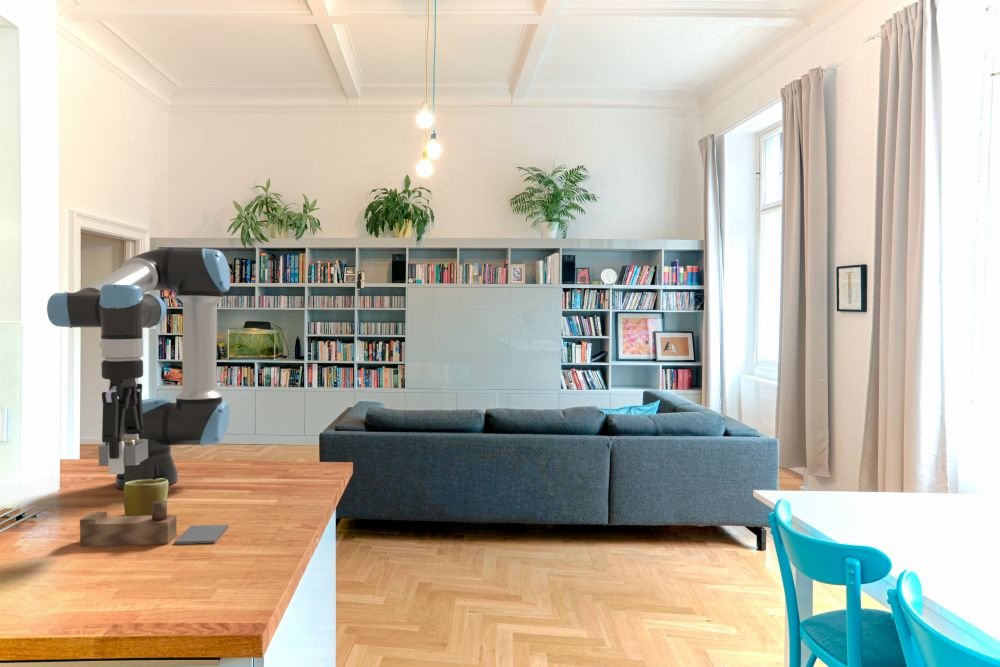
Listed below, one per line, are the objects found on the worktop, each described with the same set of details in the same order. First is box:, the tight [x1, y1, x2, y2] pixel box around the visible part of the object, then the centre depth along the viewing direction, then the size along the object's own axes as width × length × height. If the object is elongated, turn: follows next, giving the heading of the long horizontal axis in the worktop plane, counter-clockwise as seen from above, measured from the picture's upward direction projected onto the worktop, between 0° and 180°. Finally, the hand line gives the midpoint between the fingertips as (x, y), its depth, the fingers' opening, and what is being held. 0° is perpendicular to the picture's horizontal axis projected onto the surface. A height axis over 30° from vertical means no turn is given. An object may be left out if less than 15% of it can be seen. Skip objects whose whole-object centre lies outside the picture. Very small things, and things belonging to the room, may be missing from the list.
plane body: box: [79, 501, 177, 547], centre depth 140 cm, size 17×5×8 cm, turn 97°
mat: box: [174, 524, 229, 545], centre depth 144 cm, size 10×8×1 cm
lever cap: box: [98, 438, 148, 467], centre depth 139 cm, size 7×6×5 cm
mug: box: [123, 478, 169, 516], centre depth 158 cm, size 12×10×10 cm
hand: (124, 468), depth 140 cm, fingers closed on lever cap, 6 cm apart
